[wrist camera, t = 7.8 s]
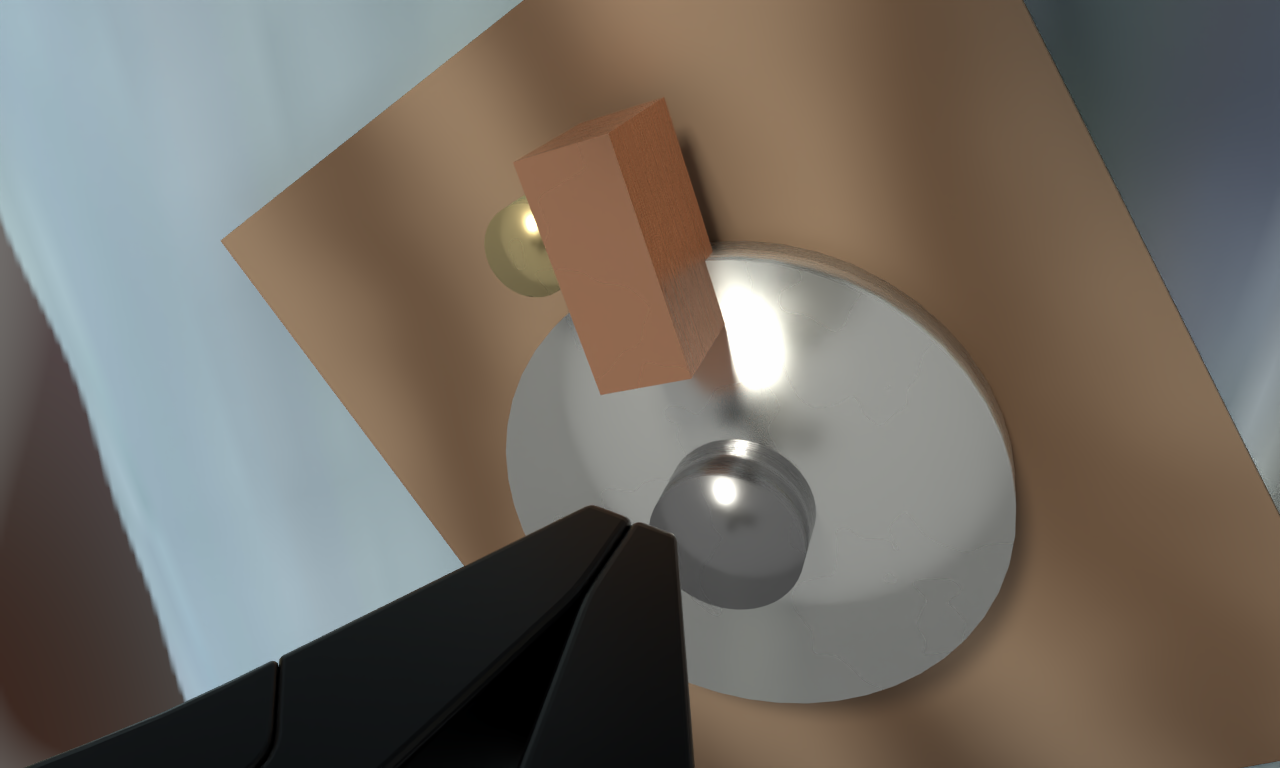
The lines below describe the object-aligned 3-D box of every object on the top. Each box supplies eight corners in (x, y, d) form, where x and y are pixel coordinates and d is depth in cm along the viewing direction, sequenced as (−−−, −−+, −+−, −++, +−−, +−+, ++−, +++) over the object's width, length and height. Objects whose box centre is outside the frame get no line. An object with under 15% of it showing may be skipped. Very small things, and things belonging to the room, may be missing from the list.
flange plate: (1057, 657, 21) (1068, 790, 18) (615, 677, 26) (564, 786, 23) (917, 13, 17) (899, 44, 14) (406, 175, 21) (304, 225, 18)
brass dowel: (595, 147, 20) (536, 186, 17) (642, 222, 20) (592, 271, 18) (531, 190, 21) (466, 233, 18) (577, 261, 21) (521, 312, 19)
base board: (886, -274, 16) (880, -284, 15) (1375, 706, 21) (1391, 740, 20) (246, 228, 25) (220, 240, 24) (698, 838, 30) (689, 866, 29)
